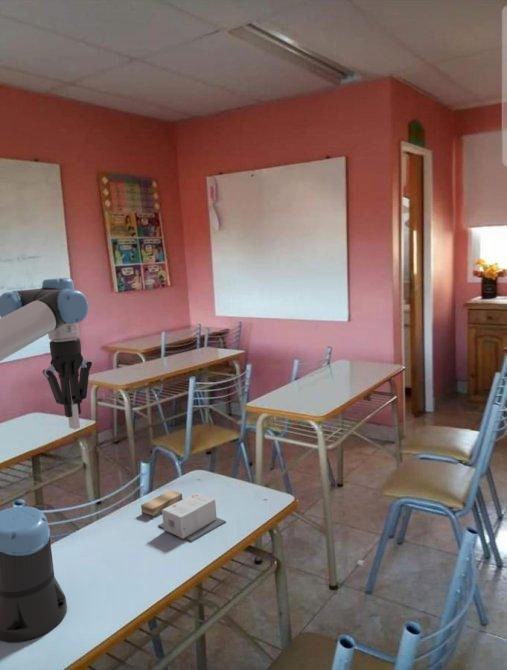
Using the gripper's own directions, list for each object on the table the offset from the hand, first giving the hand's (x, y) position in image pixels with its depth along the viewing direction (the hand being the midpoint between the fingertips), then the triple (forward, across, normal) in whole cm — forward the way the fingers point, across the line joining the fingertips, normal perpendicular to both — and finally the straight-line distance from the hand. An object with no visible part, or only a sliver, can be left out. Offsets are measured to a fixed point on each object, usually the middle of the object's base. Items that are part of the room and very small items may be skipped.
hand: (74, 427), depth 144 cm
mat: (+32, +24, -16) cm, 43 cm away
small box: (+29, +16, -16) cm, 37 cm away
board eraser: (+33, +25, -1) cm, 41 cm away
